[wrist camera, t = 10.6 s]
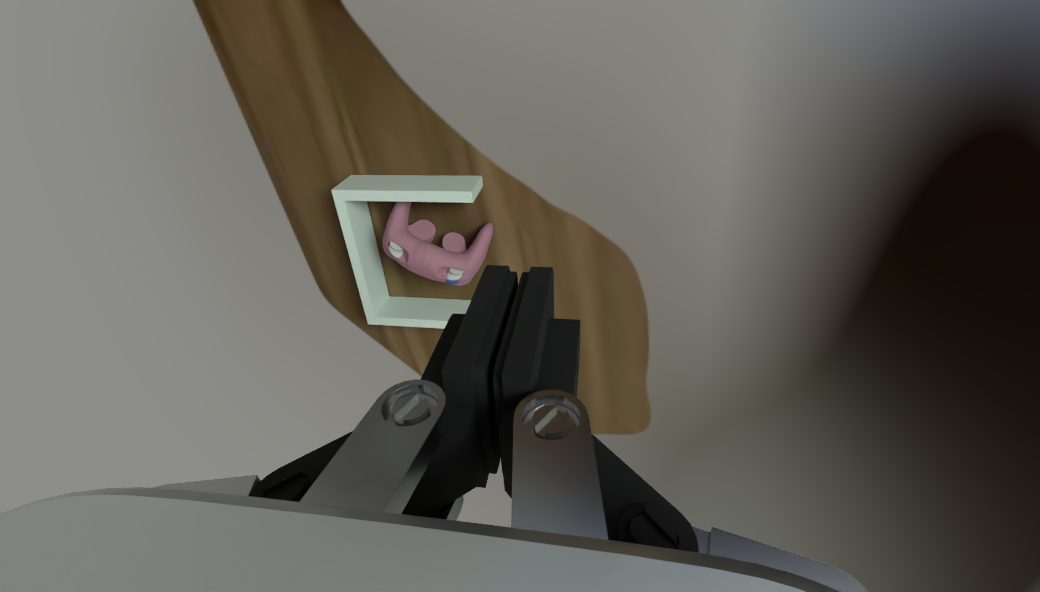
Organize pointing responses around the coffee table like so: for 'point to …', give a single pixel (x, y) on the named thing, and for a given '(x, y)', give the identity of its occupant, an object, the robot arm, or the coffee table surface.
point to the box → (365, 251)
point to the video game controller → (433, 248)
